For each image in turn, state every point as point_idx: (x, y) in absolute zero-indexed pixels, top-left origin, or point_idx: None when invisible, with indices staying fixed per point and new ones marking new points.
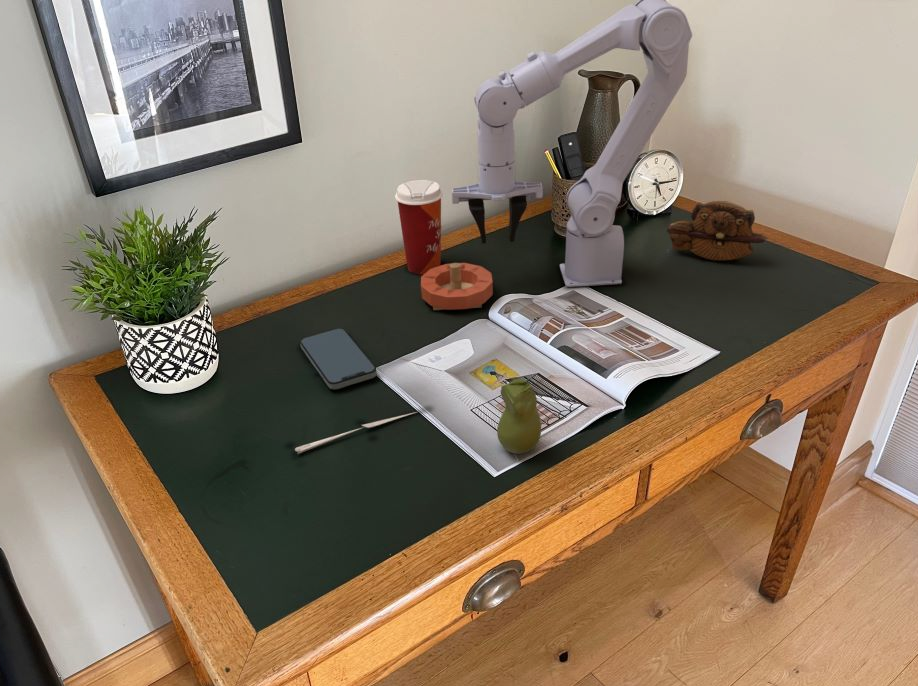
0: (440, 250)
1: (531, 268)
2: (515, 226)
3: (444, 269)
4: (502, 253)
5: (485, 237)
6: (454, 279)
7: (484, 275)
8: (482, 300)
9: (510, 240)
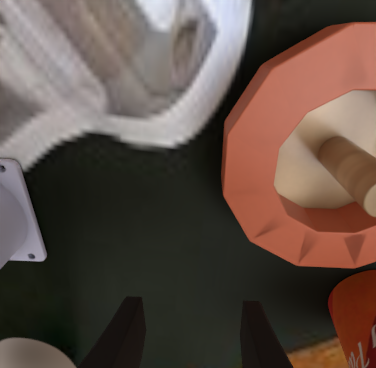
0: (347, 332)
1: (114, 258)
2: (90, 363)
3: (373, 237)
4: (177, 321)
5: (250, 323)
6: (371, 156)
7: (249, 183)
8: (270, 60)
9: (138, 301)
